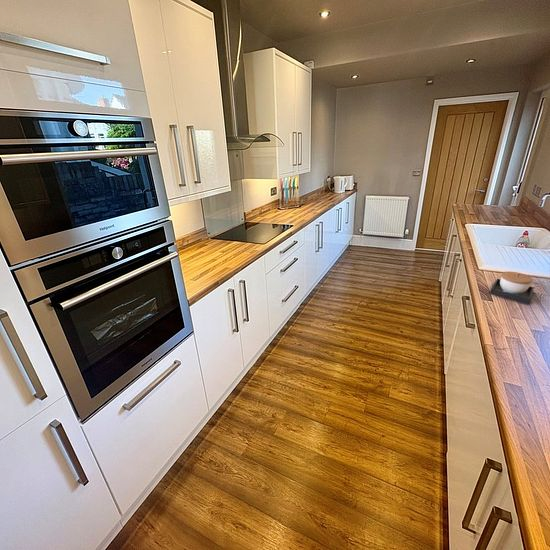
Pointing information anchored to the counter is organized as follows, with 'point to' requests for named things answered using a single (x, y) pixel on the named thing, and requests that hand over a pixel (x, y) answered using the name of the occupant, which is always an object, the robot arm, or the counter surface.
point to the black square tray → (521, 297)
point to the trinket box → (515, 282)
